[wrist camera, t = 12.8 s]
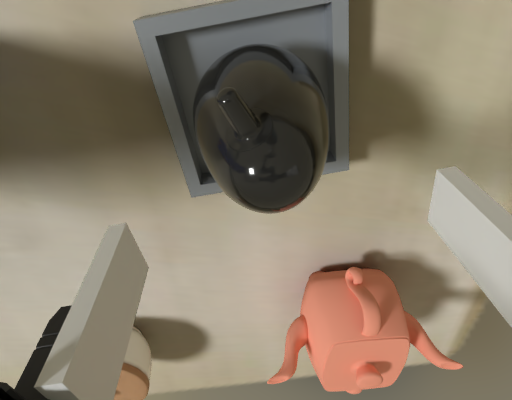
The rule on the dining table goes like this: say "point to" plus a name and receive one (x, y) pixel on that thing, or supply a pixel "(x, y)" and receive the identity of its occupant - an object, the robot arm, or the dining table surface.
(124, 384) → the lidded jar
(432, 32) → the dining table surface
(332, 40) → the tray
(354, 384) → the teapot
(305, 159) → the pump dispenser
